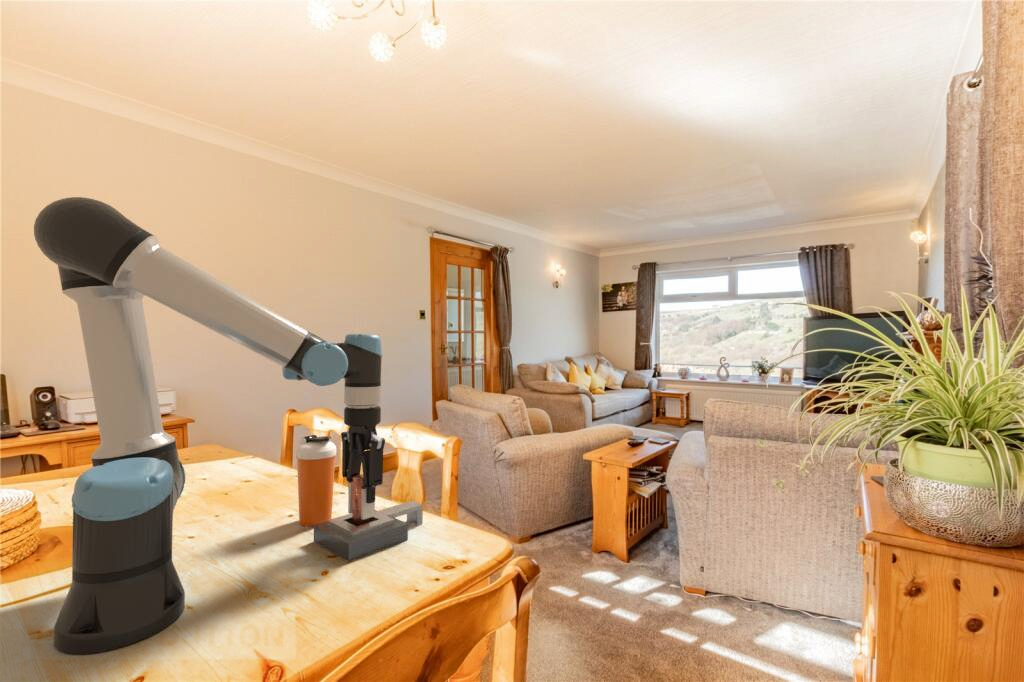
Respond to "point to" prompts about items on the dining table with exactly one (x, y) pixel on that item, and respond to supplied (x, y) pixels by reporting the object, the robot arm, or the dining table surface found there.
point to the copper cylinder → (358, 501)
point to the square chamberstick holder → (359, 540)
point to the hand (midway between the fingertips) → (361, 514)
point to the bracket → (379, 519)
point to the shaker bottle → (315, 479)
